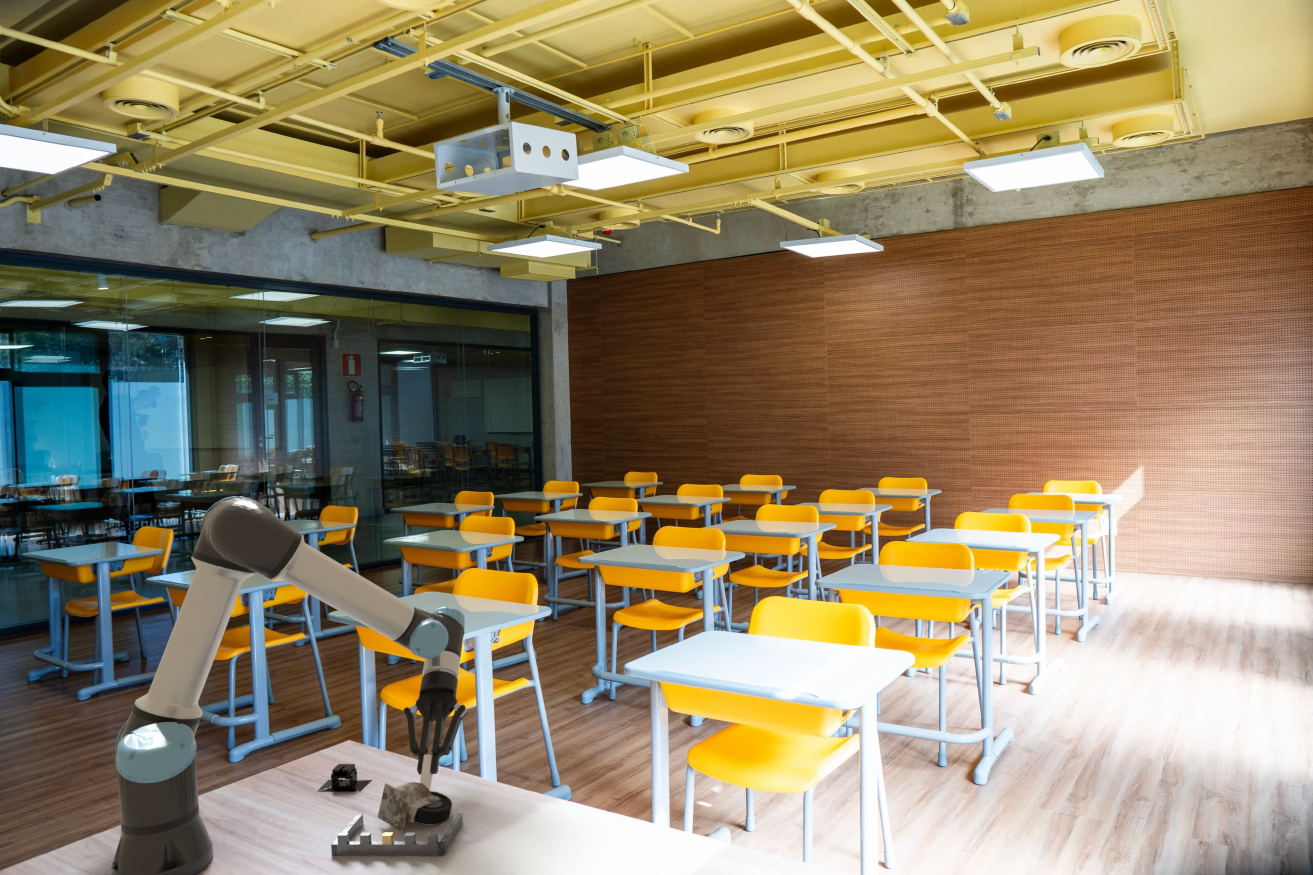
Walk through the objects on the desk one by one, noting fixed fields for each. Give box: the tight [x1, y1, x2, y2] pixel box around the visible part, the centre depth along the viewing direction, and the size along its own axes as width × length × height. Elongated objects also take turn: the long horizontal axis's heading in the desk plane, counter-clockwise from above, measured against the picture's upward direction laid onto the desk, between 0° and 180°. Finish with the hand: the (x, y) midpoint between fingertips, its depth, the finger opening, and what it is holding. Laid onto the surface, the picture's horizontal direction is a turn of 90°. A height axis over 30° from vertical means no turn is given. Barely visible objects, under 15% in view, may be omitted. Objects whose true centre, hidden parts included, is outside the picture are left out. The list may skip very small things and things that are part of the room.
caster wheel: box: [377, 781, 453, 833], centre depth 160 cm, size 7×11×10 cm
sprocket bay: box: [330, 813, 464, 857], centre depth 153 cm, size 20×11×4 cm, turn 86°
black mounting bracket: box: [316, 763, 373, 793], centre depth 176 cm, size 12×7×5 cm, turn 85°
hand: (424, 790), depth 164 cm, fingers closed
